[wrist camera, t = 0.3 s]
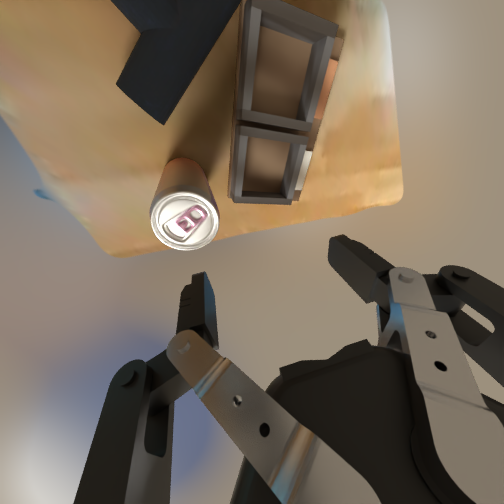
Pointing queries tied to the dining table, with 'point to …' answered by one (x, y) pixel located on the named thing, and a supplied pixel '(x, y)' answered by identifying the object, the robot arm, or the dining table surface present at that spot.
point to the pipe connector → (169, 48)
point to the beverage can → (184, 207)
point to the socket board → (278, 99)
